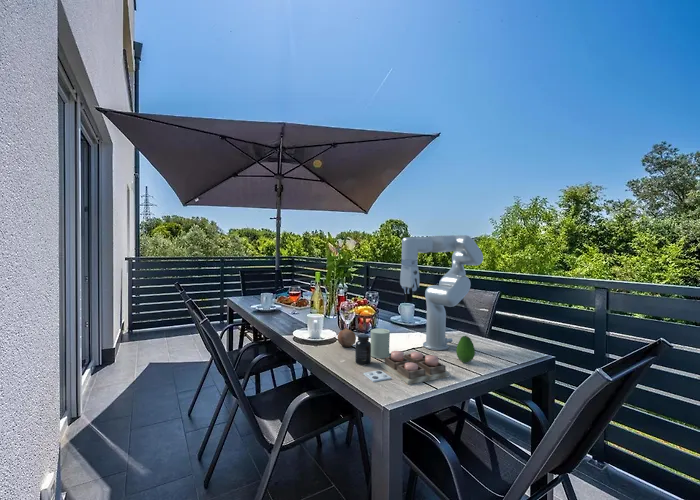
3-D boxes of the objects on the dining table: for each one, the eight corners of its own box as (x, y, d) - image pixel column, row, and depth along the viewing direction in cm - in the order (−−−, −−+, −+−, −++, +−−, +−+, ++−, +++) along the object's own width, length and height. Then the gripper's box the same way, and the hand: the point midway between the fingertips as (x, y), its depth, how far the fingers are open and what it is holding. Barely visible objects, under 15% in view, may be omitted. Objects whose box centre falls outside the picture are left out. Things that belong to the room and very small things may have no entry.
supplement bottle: (354, 360, 153) (354, 333, 152) (369, 359, 153) (370, 333, 153) (356, 365, 146) (356, 337, 145) (371, 365, 146) (372, 337, 146)
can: (388, 359, 155) (389, 333, 154) (368, 357, 156) (369, 331, 156) (390, 352, 164) (390, 328, 163) (371, 351, 165) (371, 326, 165)
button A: (418, 357, 150) (418, 351, 150) (425, 360, 146) (425, 355, 146) (408, 358, 148) (408, 352, 148) (415, 362, 144) (415, 356, 144)
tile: (380, 371, 139) (380, 369, 139) (391, 378, 132) (391, 376, 132) (363, 374, 136) (363, 372, 136) (373, 382, 129) (373, 380, 129)
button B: (432, 360, 141) (432, 354, 141) (440, 364, 137) (441, 358, 137) (422, 362, 139) (422, 356, 139) (430, 366, 134) (430, 360, 134)
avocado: (457, 364, 149) (458, 337, 149) (454, 358, 157) (455, 332, 156) (476, 365, 148) (477, 338, 148) (472, 359, 156) (473, 333, 155)
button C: (399, 356, 146) (399, 350, 146) (406, 360, 141) (406, 353, 141) (388, 357, 144) (388, 351, 144) (395, 361, 139) (395, 355, 139)
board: (419, 360, 154) (419, 351, 154) (449, 376, 136) (449, 366, 136) (380, 366, 145) (381, 357, 145) (407, 384, 127) (408, 373, 127)
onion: (344, 349, 176) (343, 330, 180) (359, 347, 172) (358, 328, 176) (333, 347, 169) (333, 327, 173) (350, 345, 164) (349, 324, 169)
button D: (412, 368, 137) (412, 361, 137) (420, 372, 132) (420, 366, 132) (401, 369, 135) (402, 363, 135) (409, 374, 130) (409, 367, 130)
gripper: (425, 264, 156) (424, 304, 156) (407, 262, 169) (406, 299, 170) (412, 264, 153) (411, 305, 153) (394, 262, 166) (393, 299, 166)
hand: (408, 301), depth 161 cm, fingers closed
